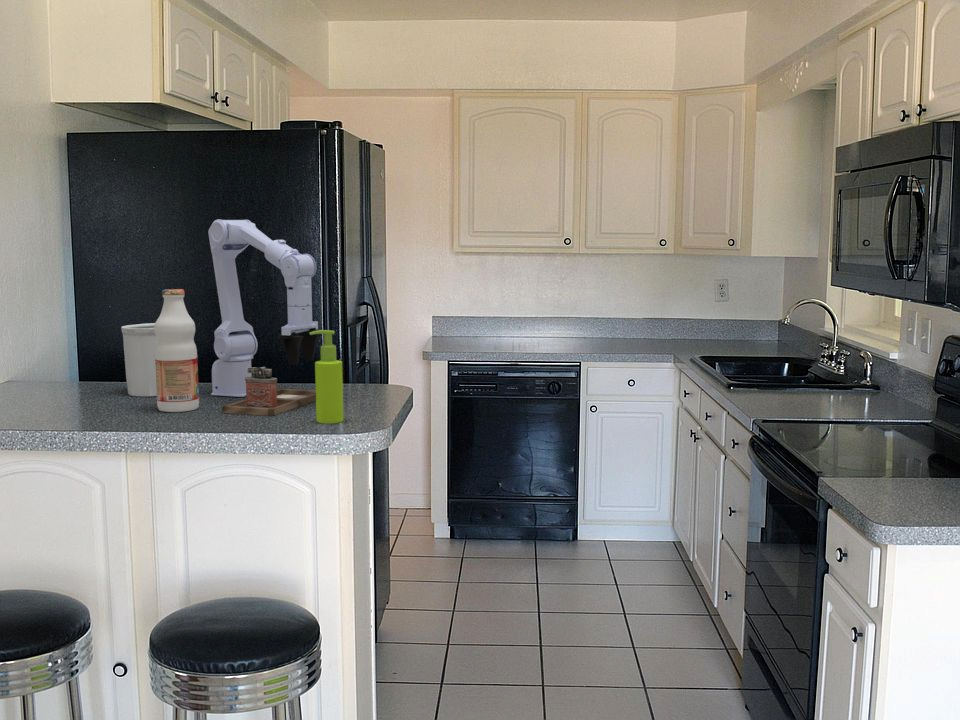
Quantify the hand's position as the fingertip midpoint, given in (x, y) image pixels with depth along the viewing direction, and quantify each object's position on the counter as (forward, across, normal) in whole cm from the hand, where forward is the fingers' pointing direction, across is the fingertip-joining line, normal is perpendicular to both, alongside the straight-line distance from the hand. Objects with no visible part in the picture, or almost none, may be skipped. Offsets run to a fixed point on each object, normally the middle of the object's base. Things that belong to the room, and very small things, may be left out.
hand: (301, 362), depth 235 cm
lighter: (+10, -9, +6) cm, 15 cm away
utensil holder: (+11, +4, +45) cm, 46 cm away
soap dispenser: (+10, -16, -15) cm, 25 cm away
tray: (+10, -2, +6) cm, 12 cm away
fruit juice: (+10, -14, +25) cm, 30 cm away
